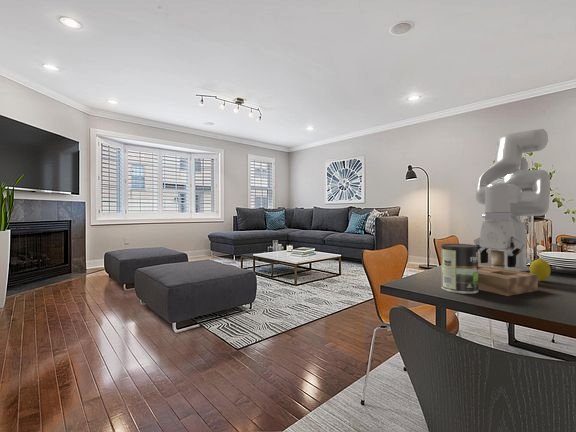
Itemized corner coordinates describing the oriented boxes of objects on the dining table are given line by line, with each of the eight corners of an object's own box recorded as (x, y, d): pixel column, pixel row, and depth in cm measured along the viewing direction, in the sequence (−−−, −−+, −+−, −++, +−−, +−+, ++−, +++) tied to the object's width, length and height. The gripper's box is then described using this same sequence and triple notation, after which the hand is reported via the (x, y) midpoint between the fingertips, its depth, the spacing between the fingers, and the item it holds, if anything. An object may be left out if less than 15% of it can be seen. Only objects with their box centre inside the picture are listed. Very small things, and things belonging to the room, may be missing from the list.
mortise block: (470, 276, 113) (470, 260, 113) (537, 290, 92) (537, 271, 92) (443, 280, 108) (443, 263, 108) (507, 296, 87) (507, 275, 87)
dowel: (496, 276, 112) (495, 249, 112) (507, 278, 108) (507, 251, 108) (488, 277, 111) (488, 250, 110) (499, 280, 107) (499, 251, 107)
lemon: (554, 283, 101) (554, 259, 101) (535, 282, 102) (535, 259, 102) (544, 279, 106) (544, 257, 106) (526, 279, 107) (526, 256, 107)
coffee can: (482, 289, 95) (482, 244, 95) (474, 296, 88) (473, 247, 88) (446, 284, 102) (446, 242, 102) (436, 290, 95) (436, 245, 95)
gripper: (468, 217, 116) (467, 262, 116) (516, 217, 100) (516, 269, 99) (481, 217, 118) (481, 261, 118) (530, 217, 102) (530, 268, 102)
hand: (497, 264), depth 109 cm, fingers open, 9 cm apart
